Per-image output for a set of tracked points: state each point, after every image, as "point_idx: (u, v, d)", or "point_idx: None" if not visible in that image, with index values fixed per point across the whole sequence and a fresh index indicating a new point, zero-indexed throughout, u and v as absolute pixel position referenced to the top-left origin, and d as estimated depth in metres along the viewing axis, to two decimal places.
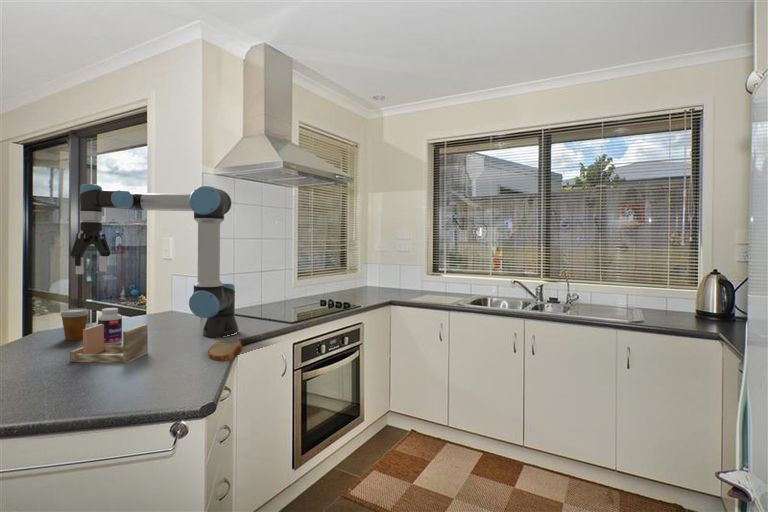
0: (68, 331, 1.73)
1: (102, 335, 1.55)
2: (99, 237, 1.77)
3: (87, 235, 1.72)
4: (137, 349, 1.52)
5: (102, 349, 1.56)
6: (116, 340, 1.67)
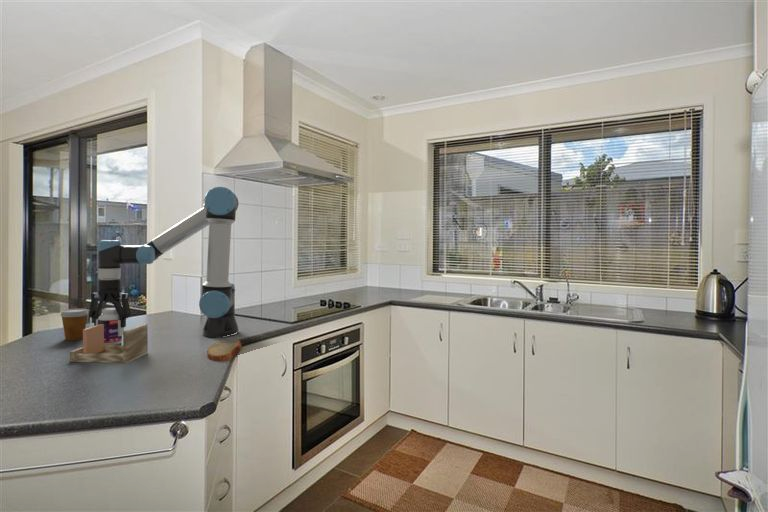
0: (68, 331, 1.73)
1: (102, 335, 1.55)
2: (111, 296, 1.66)
3: (99, 293, 1.67)
4: (137, 349, 1.52)
5: (102, 349, 1.56)
6: (116, 340, 1.67)
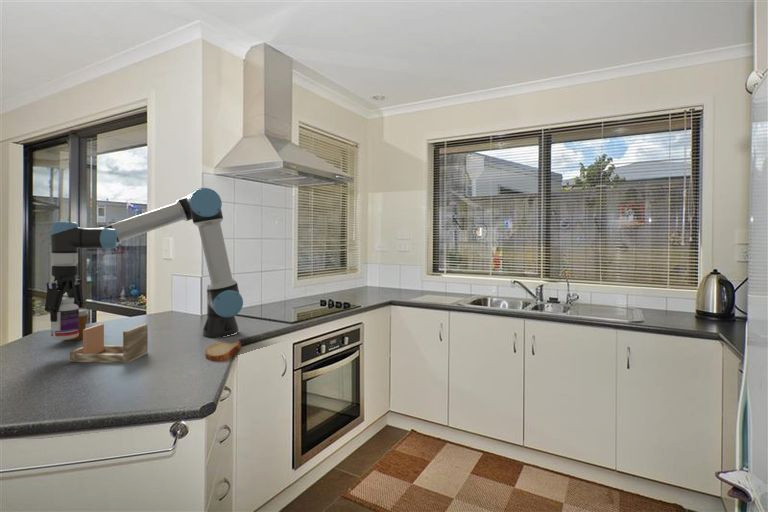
0: None
1: (102, 335, 1.55)
2: (74, 283, 1.53)
3: (60, 282, 1.47)
4: (137, 349, 1.52)
5: (102, 349, 1.56)
6: None
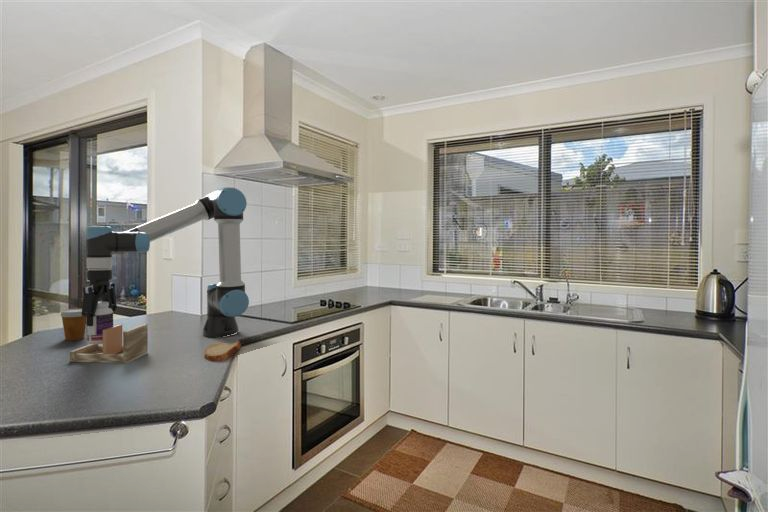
0: (68, 331, 1.73)
1: (121, 335, 1.55)
2: (108, 287, 1.53)
3: (95, 286, 1.47)
4: (137, 349, 1.52)
5: (121, 349, 1.56)
6: None
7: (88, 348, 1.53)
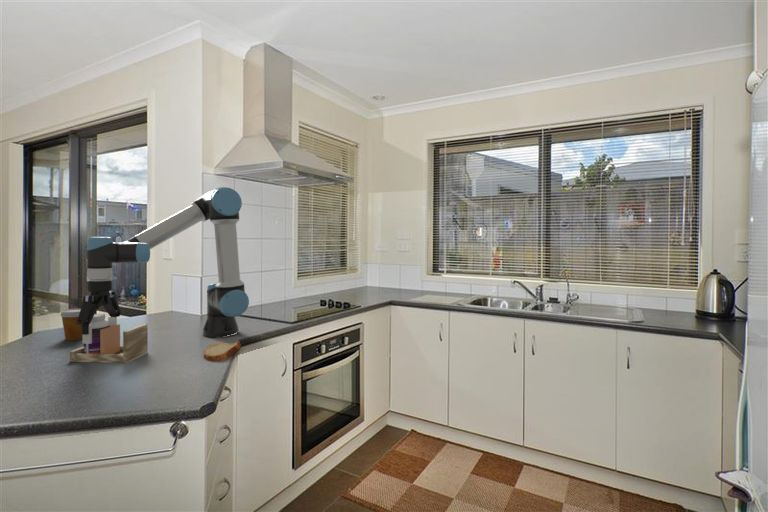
0: (68, 331, 1.73)
1: (118, 335, 1.55)
2: (109, 297, 1.53)
3: (96, 297, 1.47)
4: (137, 349, 1.52)
5: (118, 349, 1.56)
6: None
7: None
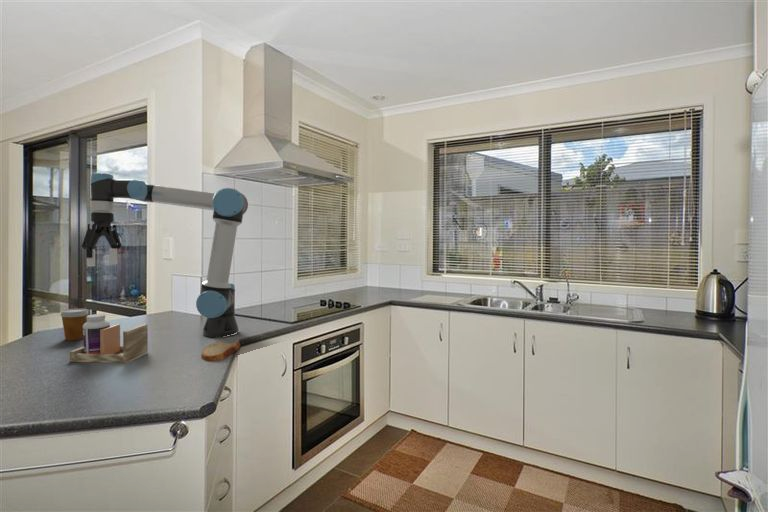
0: (68, 331, 1.73)
1: (118, 335, 1.55)
2: (110, 228, 1.71)
3: (99, 226, 1.65)
4: (137, 349, 1.52)
5: (118, 349, 1.56)
6: None
7: None
